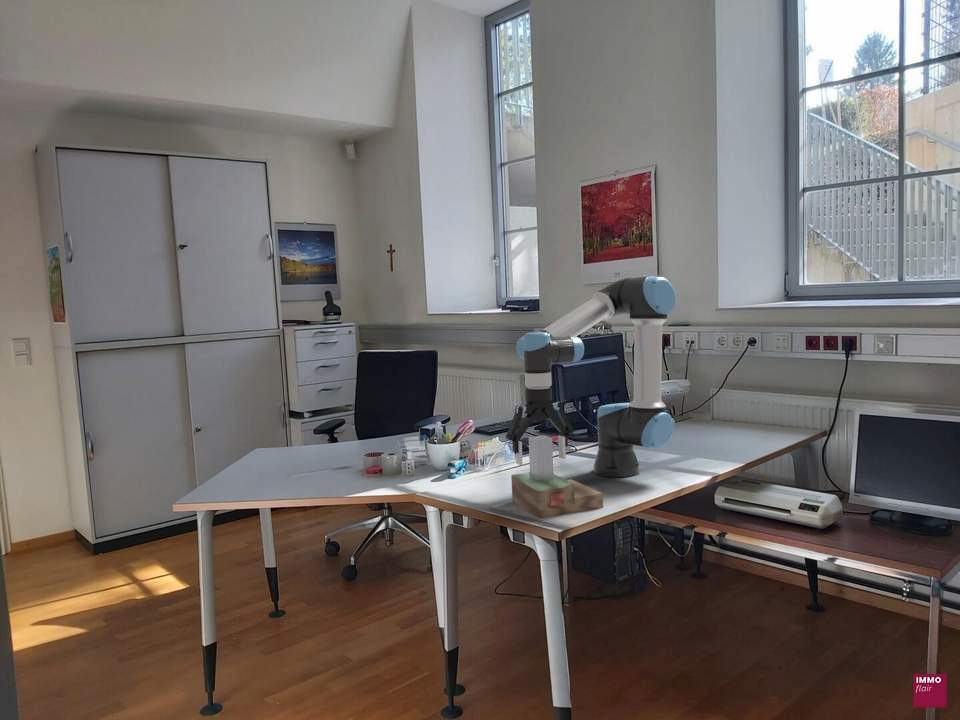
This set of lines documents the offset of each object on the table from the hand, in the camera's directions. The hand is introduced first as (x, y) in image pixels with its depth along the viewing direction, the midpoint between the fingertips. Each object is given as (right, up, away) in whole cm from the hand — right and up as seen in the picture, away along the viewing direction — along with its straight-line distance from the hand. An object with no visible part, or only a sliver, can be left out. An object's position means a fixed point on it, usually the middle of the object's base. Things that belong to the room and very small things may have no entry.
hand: (541, 461), depth 207 cm
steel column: (0, -5, +1) cm, 5 cm away
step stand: (+5, -13, +3) cm, 14 cm away
